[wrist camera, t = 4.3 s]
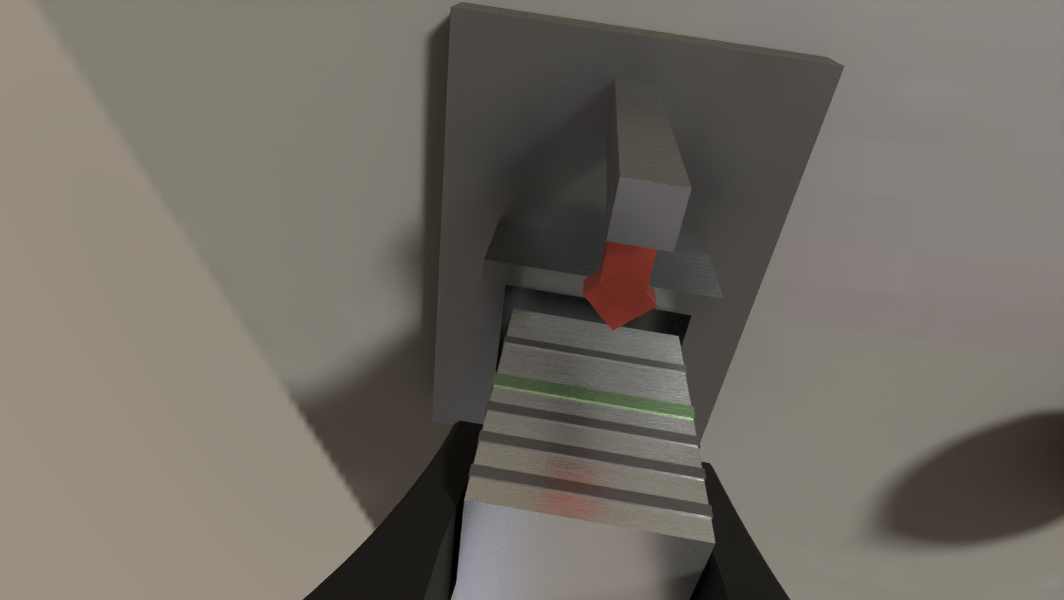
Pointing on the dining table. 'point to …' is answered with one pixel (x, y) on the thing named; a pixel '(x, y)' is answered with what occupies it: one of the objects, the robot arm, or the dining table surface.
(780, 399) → the dining table surface
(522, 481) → the column
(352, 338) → the dining table surface
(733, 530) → the robot arm
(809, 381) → the dining table surface
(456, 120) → the jack base
